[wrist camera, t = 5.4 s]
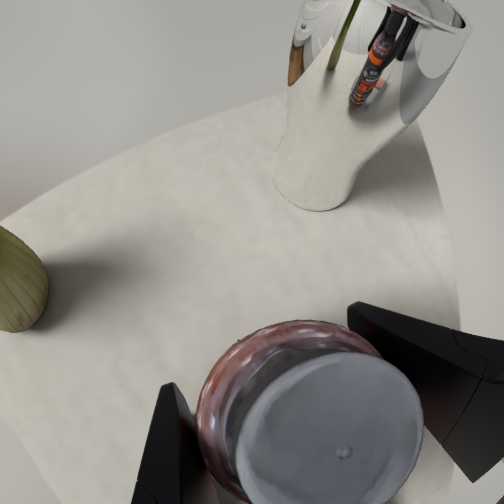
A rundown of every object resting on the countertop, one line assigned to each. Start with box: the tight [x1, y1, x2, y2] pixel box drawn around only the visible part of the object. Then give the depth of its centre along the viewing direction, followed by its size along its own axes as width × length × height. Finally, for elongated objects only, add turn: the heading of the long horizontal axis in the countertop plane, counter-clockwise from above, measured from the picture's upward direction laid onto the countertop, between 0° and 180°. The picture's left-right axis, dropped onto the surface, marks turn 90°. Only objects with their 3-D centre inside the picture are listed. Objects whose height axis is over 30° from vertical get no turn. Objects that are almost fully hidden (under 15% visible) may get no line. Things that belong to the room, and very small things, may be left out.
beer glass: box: [270, 0, 473, 211], centre depth 14 cm, size 7×7×15 cm
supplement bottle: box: [196, 320, 424, 504], centre depth 10 cm, size 6×6×11 cm
